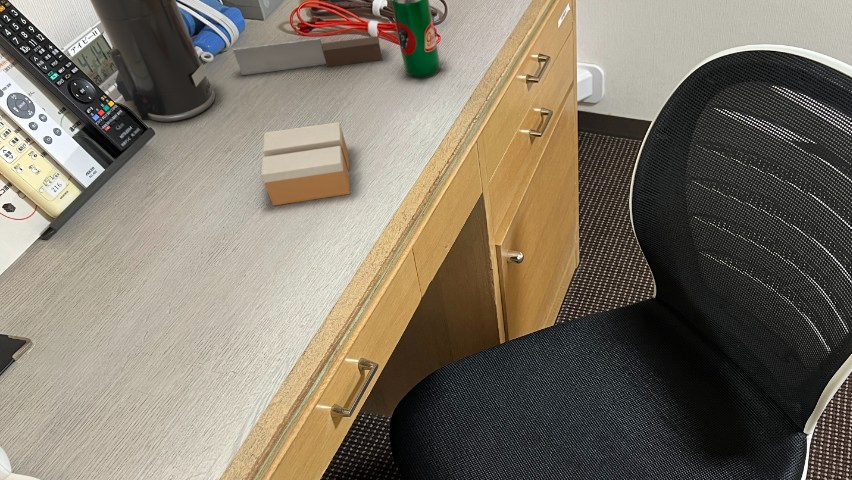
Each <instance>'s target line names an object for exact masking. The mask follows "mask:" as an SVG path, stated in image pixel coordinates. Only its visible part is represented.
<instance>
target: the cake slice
mask: <svg viewBox="0 0 852 480" xmlns="http://www.w3.org/2000/svg"><path fill="white" fill-rule="evenodd" d="M260 172H261V173H260V175H261V178H262V180H263V184H264V185H265V188H266V190H267V191H266V192H267V193H268V195H269V199H270V200H271V203H272V206H274V207H275V206H280V205H284V204H285V205H286V204H292V203H301V202H305V201H306V202H307V201H312V200H320V199H326V198H331V197H337V196H345V195H350V194H351V183H350V174H349V170H347V167H346V164H345V160H344V157H343V154H342V150H341V147H340V146H335V147H329V148H322V149H315V150H308V151H301V152H295V153H288V154H281V155H274V156H267V157H265V156H262V160H261V171H260Z"/></svg>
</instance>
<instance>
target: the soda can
mask: <svg viewBox="0 0 852 480" xmlns="http://www.w3.org/2000/svg"><path fill="white" fill-rule="evenodd" d="M389 1H390V6H391V11H392V15H393V16H392V17H393V20H394V24H395V30H396V34H397V39H398V43H399V49H400V53H401V58H402V62H403V66H404V71H405V72H406V73H407V75H409V76H411V77H414V78H418V79H421V78H429V77H432V76H434V75H435V74H437V73H438V72H439V70H440V68H441V62H440V61H441V60H440V55H439V50H438V44H437V39H436V38H437V37H436V34H435V33H436V32H435V28H434V22H433V15H432V11H431V6H430V5H431V4H430V0H389Z"/></svg>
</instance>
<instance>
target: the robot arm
mask: <svg viewBox="0 0 852 480" xmlns="http://www.w3.org/2000/svg"><path fill="white" fill-rule="evenodd" d="M89 1H90V3H91V5H92V7H93V10H94V11H95V13H96V15H97V18H98V19H99V21H100V23H101V25H102V27H103V30H104V32H105V33H106V36H107V38H108V40H109V42H110V44H111V51H110V52H109V53H110V57H111V59H112V62H113V63H114V65H115V68H116V69H117V76H116V78H115V82H114V83H115V84H116V89H117V91H118V93H119V94H121V96H122V98H123V100H124V102H125V103H127V102H133V104H134V106H135V109H136V111H137V112H138V114H139V116H140V118H141V120H153V121H157V122H176V121H182V120H185V119H189V118H192V117H195V116H197V115H199V114H201V113H203V112H204V111H206V110H207V109H208V108H210V107H211V105H212V104H213V103H214V102H215V100H216V94H215V91H214V89H213V87H212V86H211V83H210V80H209V78H208V76H207V75H208V72H207V70H206V68H205V65H204V63H202V62H201V59H200V56H199V54H198V52H197V49H196V47H195V44H194V42H193V40H192V38H191V37H192V36H191V34H190V32H189V30H188V28H187V25H186V22H185V20H184V18H183V15H182V12H181V10H180V8H179V5H178V3H177V1H176V0H89ZM329 1H330V2H331V3H340V2H345V1H346V0H329Z"/></svg>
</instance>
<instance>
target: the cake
mask: <svg viewBox="0 0 852 480" xmlns="http://www.w3.org/2000/svg"><path fill="white" fill-rule="evenodd" d="M263 135H264V137H263V147H262V151H263V154H264V157H267V156H274V155H281V154H288V153H295V152H301V151H308V150H315V149H322V148H329V147H335V146H340V147H341V150H342V154H343V157H344V160H345V164H346V167H347V170H348V171H350V161H349V150H348V147H347V143H346V140H345V139H346V138H345V137H344V133H343V130H342V127H341V123H340V121H337V122H330V123H322V124H316V125H307V126H302V127H295V128H288V129H281V130H274V131H266V132H264V134H263Z"/></svg>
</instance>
